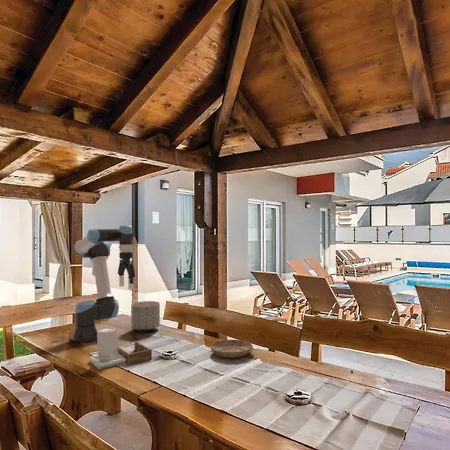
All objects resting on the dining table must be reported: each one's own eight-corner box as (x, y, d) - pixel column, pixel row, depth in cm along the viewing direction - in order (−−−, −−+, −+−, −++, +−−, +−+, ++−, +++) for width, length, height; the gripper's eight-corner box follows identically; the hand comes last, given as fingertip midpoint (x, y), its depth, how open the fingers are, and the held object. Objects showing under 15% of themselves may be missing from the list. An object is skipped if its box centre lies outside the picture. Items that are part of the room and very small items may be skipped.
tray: (89, 361, 199) (89, 356, 199) (115, 356, 207) (115, 351, 207) (98, 369, 187) (98, 364, 187) (126, 363, 196) (125, 358, 196)
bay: (114, 354, 211) (114, 345, 211) (136, 349, 218) (136, 340, 218) (128, 364, 195) (128, 354, 195) (151, 358, 202) (151, 349, 202)
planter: (157, 334, 250) (156, 306, 250) (128, 334, 251) (128, 306, 251) (162, 326, 269) (162, 300, 269) (135, 326, 270) (135, 301, 270)
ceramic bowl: (258, 350, 215) (258, 341, 215) (243, 364, 194) (243, 354, 194) (221, 345, 225) (221, 337, 225) (203, 358, 204) (203, 348, 204)
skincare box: (118, 358, 199) (118, 329, 199) (110, 363, 193) (110, 332, 193) (104, 357, 202) (104, 327, 202) (96, 361, 196) (96, 331, 196)
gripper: (112, 251, 231) (112, 285, 231) (128, 253, 212) (128, 291, 211) (123, 250, 236) (124, 284, 236) (140, 252, 216) (141, 289, 216)
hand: (126, 287), depth 224 cm, fingers open, 13 cm apart
